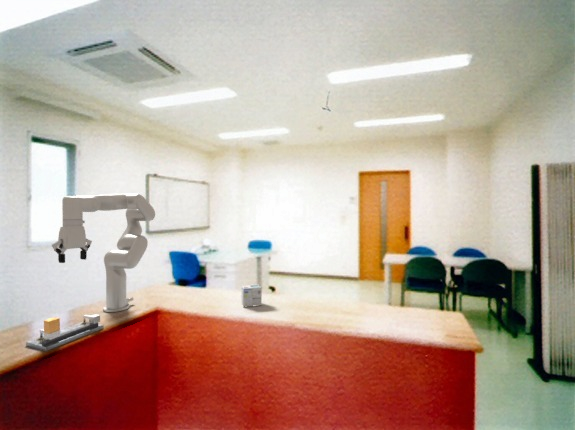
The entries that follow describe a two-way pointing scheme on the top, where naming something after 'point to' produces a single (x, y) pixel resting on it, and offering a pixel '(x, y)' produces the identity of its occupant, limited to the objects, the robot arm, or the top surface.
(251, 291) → the light bulb box
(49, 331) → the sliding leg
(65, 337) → the base
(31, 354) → the top surface
